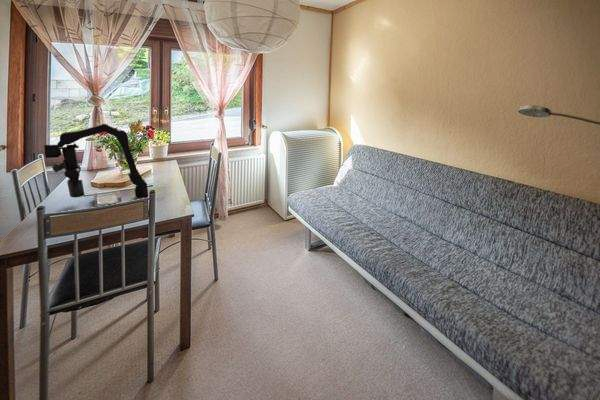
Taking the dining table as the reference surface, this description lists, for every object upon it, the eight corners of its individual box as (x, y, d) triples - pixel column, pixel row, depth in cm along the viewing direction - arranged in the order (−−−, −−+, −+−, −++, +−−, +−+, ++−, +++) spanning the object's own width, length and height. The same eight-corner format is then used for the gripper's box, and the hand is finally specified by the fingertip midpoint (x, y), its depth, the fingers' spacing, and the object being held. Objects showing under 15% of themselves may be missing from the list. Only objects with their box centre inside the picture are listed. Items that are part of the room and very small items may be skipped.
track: (120, 196, 201) (119, 190, 200) (121, 203, 189) (121, 197, 188) (94, 199, 195) (93, 193, 194) (94, 206, 183) (93, 200, 182)
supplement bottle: (81, 192, 189) (78, 172, 185) (86, 195, 186) (83, 174, 182) (67, 195, 184) (63, 174, 180) (72, 198, 180) (69, 176, 176)
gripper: (53, 154, 182) (59, 183, 187) (49, 161, 166) (55, 191, 171) (77, 153, 187) (82, 180, 192) (76, 159, 172) (81, 189, 177)
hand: (75, 185), depth 183 cm, fingers closed on supplement bottle, 7 cm apart
